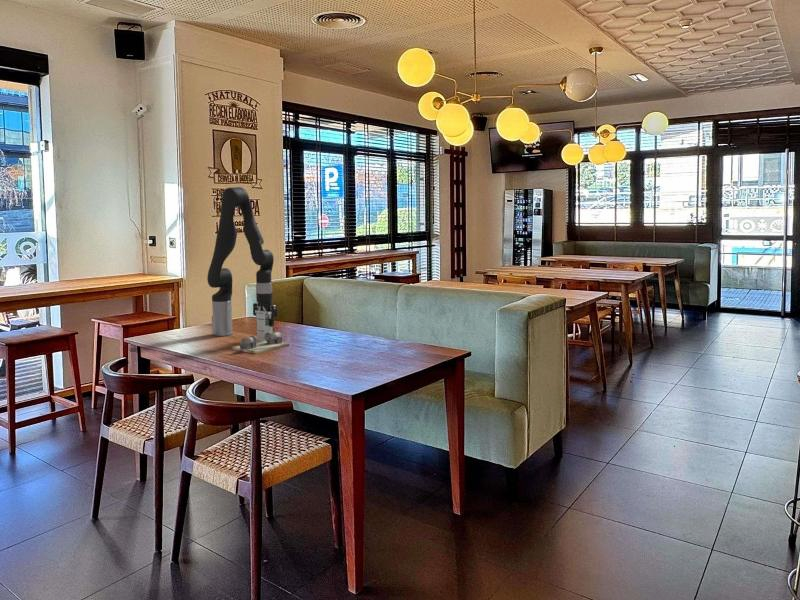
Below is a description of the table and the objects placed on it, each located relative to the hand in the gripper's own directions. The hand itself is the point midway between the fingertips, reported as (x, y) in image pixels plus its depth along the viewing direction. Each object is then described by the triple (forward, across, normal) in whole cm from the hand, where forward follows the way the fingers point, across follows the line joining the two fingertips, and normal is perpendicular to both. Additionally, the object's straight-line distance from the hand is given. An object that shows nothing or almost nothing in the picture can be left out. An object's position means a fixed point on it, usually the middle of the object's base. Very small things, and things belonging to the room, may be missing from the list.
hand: (265, 325), depth 300 cm
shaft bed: (+7, +11, -13) cm, 18 cm away
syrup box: (+7, 0, 0) cm, 7 cm away
